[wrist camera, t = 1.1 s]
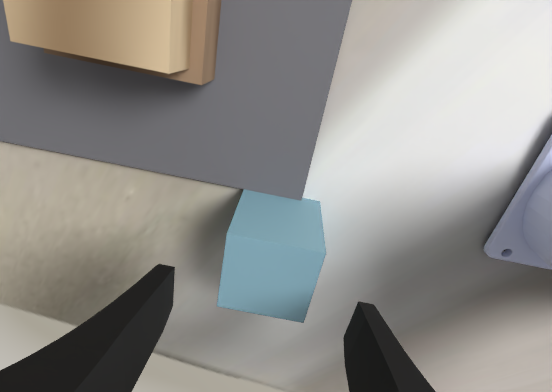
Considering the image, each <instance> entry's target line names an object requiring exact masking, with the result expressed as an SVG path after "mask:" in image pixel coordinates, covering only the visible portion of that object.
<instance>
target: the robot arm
mask: <svg viewBox="0 0 552 392" xmlns="http://www.w3.org/2000/svg"><path fill="white" fill-rule="evenodd" d="M505 249H507V250H506V251H505V252H502V251H503V250H505ZM484 252H485V253H486V254H487V255H488V256H489V257H491V258H494V259H499V260H504V261H509V262H515V263H520V264H525V265H530V266H535V267H540V268H545V269H550V270H552V135H551V136H550V138H549V140H548V141H547V143H546V145H545V146H544V148H543V150H542V151H541V153H540V155H539V156H538V158H537V159H536V161H535V163H534V164H533V166H532V168H531V169H530V171H529V173H528V174H527V176H526V178H525V179H524V181H523V183H522V184H521V186H520V188H519V189H518V191H517V193H516V194H515V196H514V198H513V199H512V201H511V203H510V204H509V206H508V207H507V209H506V211H505V212H504V214H503V216H502V217H501V219H500V221H499V222H498V224H497V226H496V227H495V229H494V231H493V232H492V234H491V236H490V237H489V239H488V241H487V242H486V244H485V246H484ZM174 271H175V267H172V266H167V265H161V264H158V265H157V266H155V267H154V268H153V269H152V270H151V271H150V272H148V273H147V274H146V275H145V276H144V277H143V278H141V279H140V280H139V281H138V282H137V283H136V284H134V285H133V286H132V287H131V288H130V289H128V290H127V291H126V292H125V293H123V294H122V295H121V296H120V297H118V298H117V299H116V300H114V301H113V302H112V303H111V304H109V305H108V306H106V307H105V308H104V309H102V310H101V311H100V312H98V313H97V314H95V315H94V316H93V317H91V318H90V319H88V320H87V321H86V322H84V323H83V324H81V325H80V326H78V327H77V328H75V329H74V330H72V331H70V332H69V333H67V334H66V335H64V336H63V337H61V338H59V339H58V340H56V341H54V342H52V343H51V344H49V345H47V346H45V347H44V348H42V349H40V350H39V351H37V352H35V353H33V354H31V355H30V356H28V357H26V358H24V359H22V360H20V361H18V362H17V363H15V364H12V365H11V366H8V367H6V368H5V369H2V370H1V371H0V392H132V390H133V388H134V386H135V384H136V382H137V380H138V378H139V376H140V374H141V373H142V371H143V369H144V367H145V365H146V363H147V361H148V359H149V357H150V355H151V353H152V352H153V350H154V348H155V346H156V344H157V342H158V340H159V338H160V336H161V334H162V332H163V330H164V327H165V325H166V322H167V320H168V317H169V314H170V312H171V309H172V307H173V292H174ZM344 357H345V368H346V374H347V380H348V386H349V392H435V390H434V389H433V388H432V387H431V385H430V384H429V383H428V382H427V380H426V379H425V378H424V376H423V375H422V374H421V373H420V371H419V370H418V369H417V367H416V366H415V365H414V363H413V362H412V360H411V359H410V358H409V356H408V355H407V354H406V352H405V351H404V349H403V348H402V346H401V345H400V343H399V342H398V341H397V339H396V338H395V336H394V335H393V333H392V331H391V330H390V328H389V327H388V325H387V324H386V322H385V321H384V319H383V318H382V316H381V315H380V313H379V312H378V310H377V309H376V307H375V306H374V305H373V304H368V303H363V302H358V304H357V306H356V309H355V311H354V314H353V316H352V318H351V321H350V323H349V326H348V328H347V330H346V333H345V335H344Z"/></svg>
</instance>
